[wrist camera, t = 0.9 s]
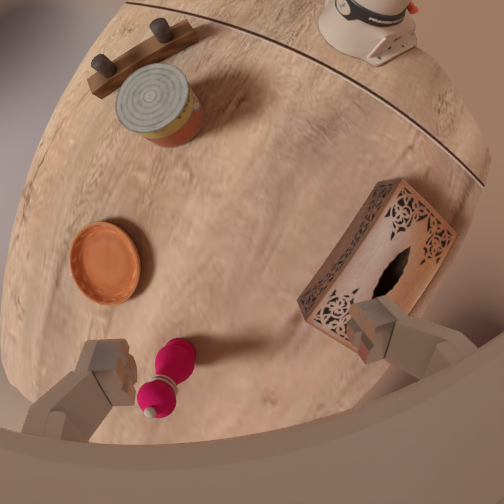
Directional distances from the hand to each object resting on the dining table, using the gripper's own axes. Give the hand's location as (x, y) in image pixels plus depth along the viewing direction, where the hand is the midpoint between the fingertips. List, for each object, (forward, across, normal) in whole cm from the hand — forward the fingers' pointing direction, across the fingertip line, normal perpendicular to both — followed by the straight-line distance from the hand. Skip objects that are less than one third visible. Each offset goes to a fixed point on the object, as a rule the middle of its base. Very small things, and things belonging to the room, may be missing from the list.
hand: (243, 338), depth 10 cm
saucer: (+43, +20, +15) cm, 50 cm away
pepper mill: (+35, +8, +32) cm, 49 cm away
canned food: (+46, +4, -10) cm, 47 cm away
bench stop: (+50, +10, -23) cm, 56 cm away
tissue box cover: (+32, -28, +17) cm, 46 cm away
